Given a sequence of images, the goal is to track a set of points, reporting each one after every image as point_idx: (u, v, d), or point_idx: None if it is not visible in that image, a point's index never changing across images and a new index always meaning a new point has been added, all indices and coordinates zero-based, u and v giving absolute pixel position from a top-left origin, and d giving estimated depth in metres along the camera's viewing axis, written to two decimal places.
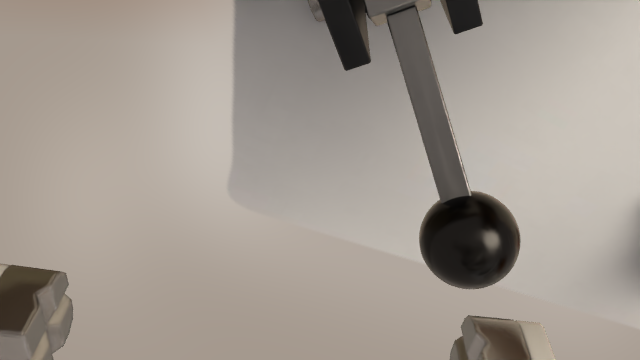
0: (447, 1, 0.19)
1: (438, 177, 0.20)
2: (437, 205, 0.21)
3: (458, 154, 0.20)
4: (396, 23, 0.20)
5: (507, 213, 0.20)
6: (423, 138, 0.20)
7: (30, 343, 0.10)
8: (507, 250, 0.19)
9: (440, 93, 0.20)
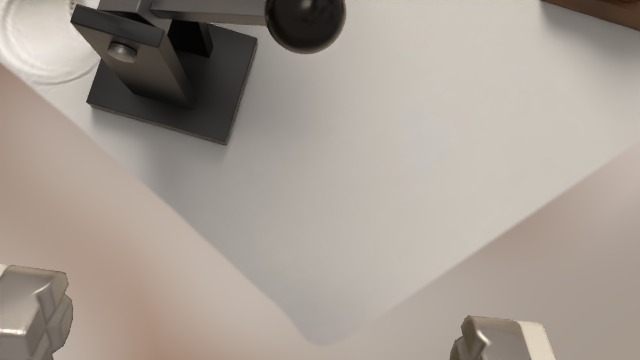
0: None
1: (249, 12, 0.26)
2: (265, 20, 0.25)
3: None
4: (156, 4, 0.28)
5: None
6: (221, 13, 0.26)
7: (30, 343, 0.10)
8: None
9: None
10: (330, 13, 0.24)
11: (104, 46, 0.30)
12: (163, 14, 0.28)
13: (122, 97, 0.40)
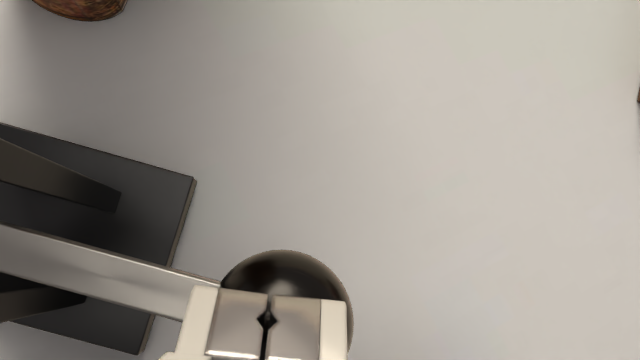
0: None
1: (171, 312, 0.14)
2: None
3: (158, 268, 0.14)
4: None
5: (269, 254, 0.14)
6: (108, 300, 0.13)
7: None
8: (309, 282, 0.13)
9: (67, 243, 0.14)
10: None
11: None
12: None
13: None
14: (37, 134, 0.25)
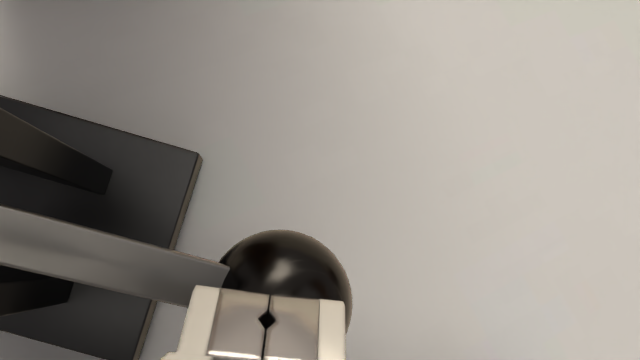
0: None
1: (178, 298, 0.12)
2: None
3: (164, 251, 0.12)
4: None
5: (280, 236, 0.13)
6: (107, 287, 0.12)
7: None
8: (329, 267, 0.13)
9: (56, 222, 0.11)
10: None
11: None
12: None
13: None
14: (13, 100, 0.21)
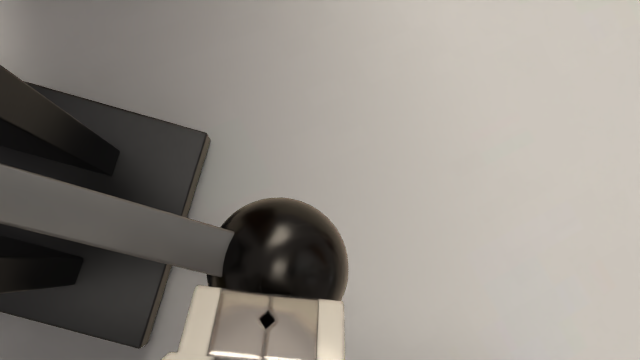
0: None
1: (185, 261, 0.13)
2: (219, 284, 0.13)
3: (173, 215, 0.13)
4: None
5: (281, 203, 0.14)
6: (118, 250, 0.12)
7: None
8: (329, 231, 0.14)
9: (68, 185, 0.11)
10: None
11: None
12: None
13: None
14: None
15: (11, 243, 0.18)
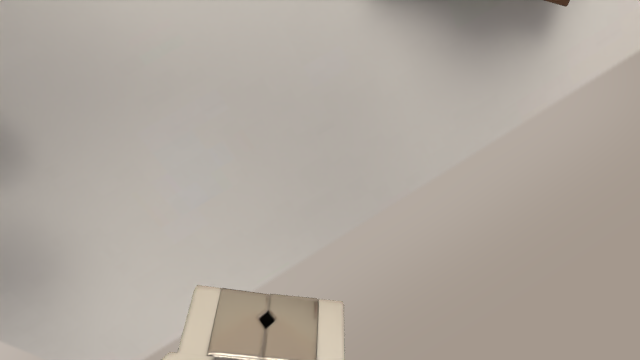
0: None
1: None
2: None
3: None
4: None
5: None
6: None
7: None
8: None
9: None
10: None
11: None
12: None
13: None
14: None
15: None
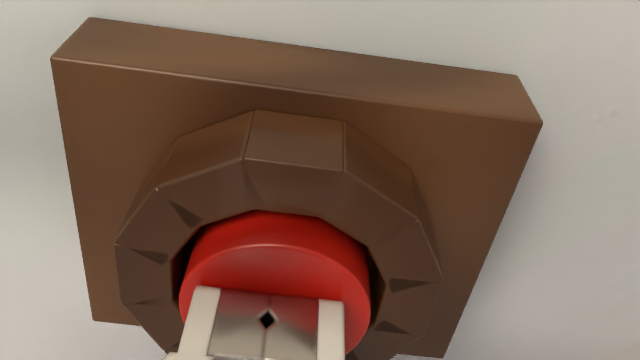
0: None
1: None
2: None
3: None
4: None
5: None
6: None
7: None
8: None
9: None
10: None
11: None
12: None
13: None
14: None
15: None
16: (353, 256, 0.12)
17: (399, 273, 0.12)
